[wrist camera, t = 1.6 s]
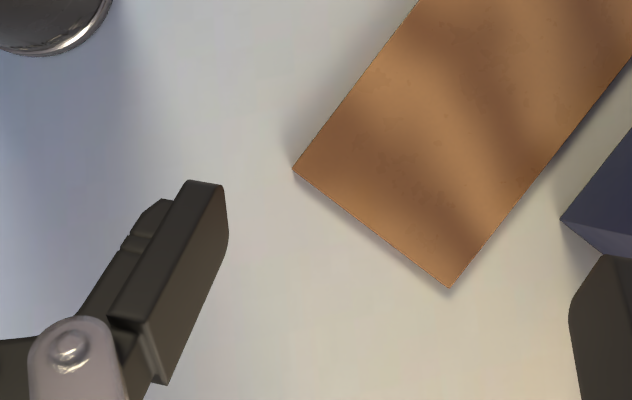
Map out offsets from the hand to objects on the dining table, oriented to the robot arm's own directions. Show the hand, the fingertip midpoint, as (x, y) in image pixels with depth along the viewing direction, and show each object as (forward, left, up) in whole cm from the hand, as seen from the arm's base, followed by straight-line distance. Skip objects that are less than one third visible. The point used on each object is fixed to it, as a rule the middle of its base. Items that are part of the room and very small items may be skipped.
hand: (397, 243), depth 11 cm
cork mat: (-2, +10, -20) cm, 22 cm away
